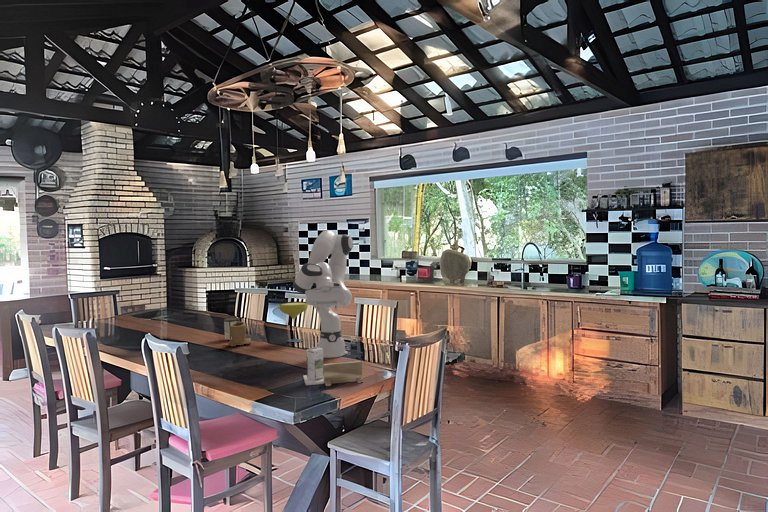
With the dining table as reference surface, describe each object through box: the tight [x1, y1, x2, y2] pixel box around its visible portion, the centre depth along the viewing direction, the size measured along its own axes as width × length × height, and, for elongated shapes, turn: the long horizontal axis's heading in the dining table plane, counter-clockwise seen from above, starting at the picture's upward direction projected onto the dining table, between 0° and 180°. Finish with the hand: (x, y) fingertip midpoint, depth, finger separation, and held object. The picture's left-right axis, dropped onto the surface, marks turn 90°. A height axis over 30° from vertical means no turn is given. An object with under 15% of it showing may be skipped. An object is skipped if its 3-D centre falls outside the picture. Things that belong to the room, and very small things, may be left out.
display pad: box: [302, 374, 325, 386], centre depth 250 cm, size 14×10×1 cm
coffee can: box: [223, 317, 241, 340], centre depth 351 cm, size 10×10×14 cm
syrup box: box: [306, 346, 324, 380], centre depth 249 cm, size 6×6×14 cm
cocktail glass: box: [278, 301, 309, 343], centre depth 339 cm, size 18×18×25 cm
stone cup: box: [227, 321, 252, 347], centre depth 332 cm, size 15×12×15 cm
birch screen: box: [323, 360, 364, 387], centre depth 244 cm, size 5×18×9 cm, turn 103°
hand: (327, 309), depth 265 cm, fingers open, 8 cm apart
